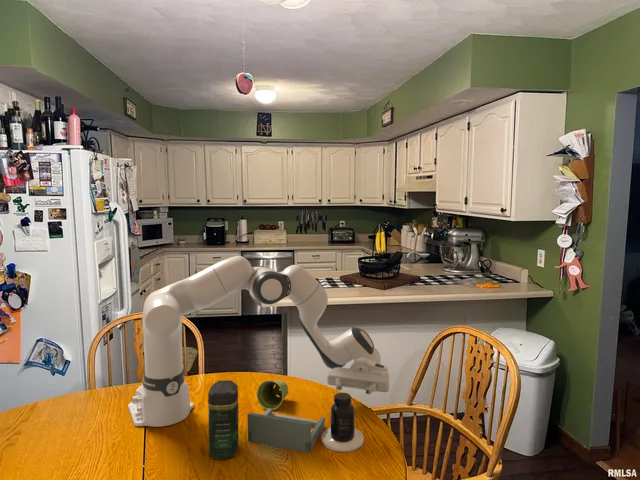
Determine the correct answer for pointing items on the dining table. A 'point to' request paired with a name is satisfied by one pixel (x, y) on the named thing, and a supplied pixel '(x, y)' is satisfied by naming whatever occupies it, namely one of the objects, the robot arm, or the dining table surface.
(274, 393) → the plant pot
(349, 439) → the supplement bottle
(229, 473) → the dining table surface
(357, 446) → the white round glossy part
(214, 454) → the coffee jar
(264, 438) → the cold frame
